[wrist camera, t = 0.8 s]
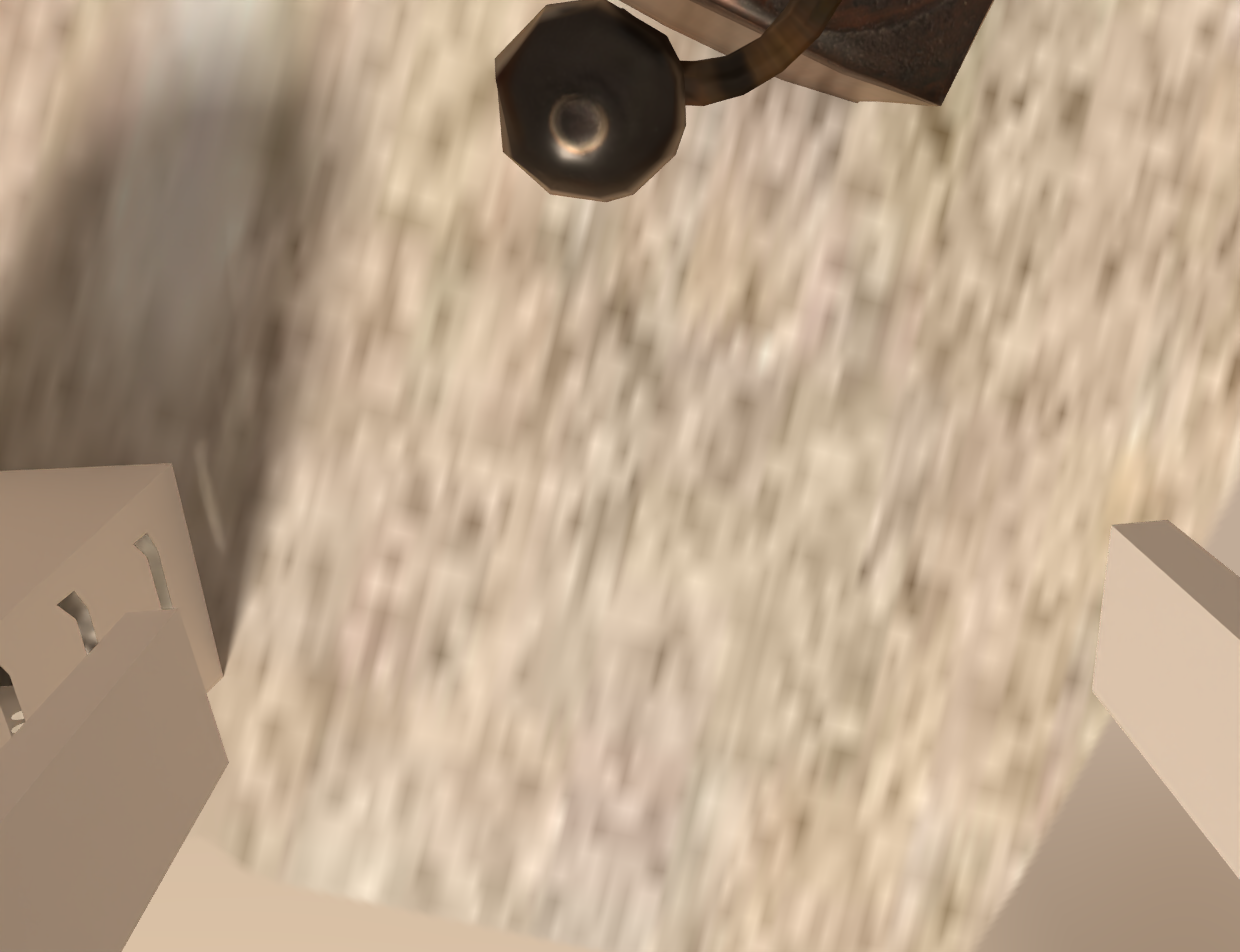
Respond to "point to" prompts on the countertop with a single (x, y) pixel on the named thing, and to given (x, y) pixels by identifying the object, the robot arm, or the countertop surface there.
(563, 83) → the manual coffee grinder
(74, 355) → the countertop surface
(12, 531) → the grater
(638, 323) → the countertop surface
